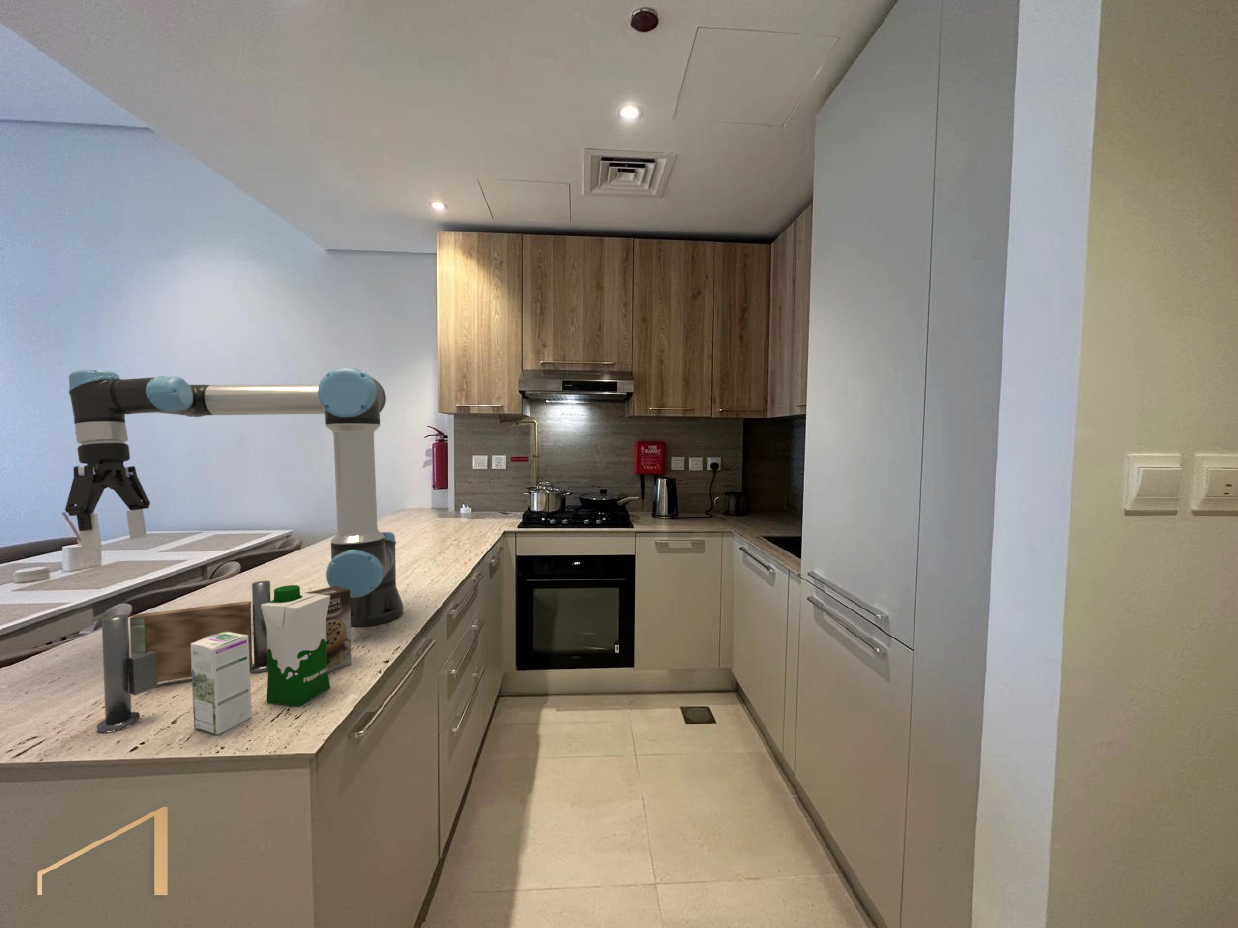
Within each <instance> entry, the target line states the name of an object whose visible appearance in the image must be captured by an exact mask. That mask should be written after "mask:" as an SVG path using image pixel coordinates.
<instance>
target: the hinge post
mask: <svg viewBox="0 0 1238 928" xmlns="http://www.w3.org/2000/svg"><path fill="white" fill-rule="evenodd" d="M251 591H252V592H251V594H252V595H251V596H252V600H251V601H252V629H253V630H252V631H253V634H252V635H253V662H252V665H251V667H250V674H261V673H266V672H268V664H267V629H266V624H265V620H264V616H263V612H262V608H261V605H262V604H266V603H267V602H270V601H271V581H270V580H260V581H259V580H258V581H254V582H253V583H251Z"/></svg>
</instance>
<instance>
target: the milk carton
mask: <svg viewBox="0 0 1238 928" xmlns="http://www.w3.org/2000/svg"><path fill="white" fill-rule="evenodd" d="M300 588H301V586H300V585H297V584H296V585H295V584H293V585H292V584H291V585H284V586H280V587H279V586H278V587H276V588H274V589H273V599H272V600H270V602H267V603H266V604H262V605H261V608H262V612H263V616H264V620H265V624H266V629H267V664H268V671H267V684H266V701H265V702H266V703H270V704H278V705H284V706H291V707H301V706H303V705H304V704H305V703H307V702H309V701H311V700H312V699H314V698H315V697H317V696H319V695H321V694H322V693H324V692H325V691H326V690H328V689H330V688H331V686H330V678H329V672H328V669H327V650H326V616H327V611H328V605H329V601H330V595H320V594H309V593H306V592H301V589H300Z"/></svg>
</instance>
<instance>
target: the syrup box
mask: <svg viewBox="0 0 1238 928" xmlns="http://www.w3.org/2000/svg"><path fill="white" fill-rule="evenodd" d="M191 668H192V677H191V682H192V683H191V687H192V688H191V689H192V708H193V728H194V729H195V730H199V731H202V732H206V733H208V734H213V735H215V736H216V735H217V736H218V735H220V734H222V733H224V732H226V731H228V730H230V729H232V728H235V727H237V726H239V725H240V724H243V723H244V722H247V721H248V720H250V719H251V718H252V716H253V715H252V694H251V692H252V691H251V689H252V688H251V673H250V665H249V641H248V636H247V635H242V634H236V633H231V632H222V633H219V634H215V635H212V636H209V637H206V638H203V639H201V640H198V641H196V642H194V643H191Z"/></svg>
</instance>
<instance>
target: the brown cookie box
mask: <svg viewBox="0 0 1238 928" xmlns="http://www.w3.org/2000/svg"><path fill="white" fill-rule="evenodd" d="M350 591H351V590H349V589H346V588H341V587H337V586H333V587H330V586H329V587H324V588H320V589H316V590H311V591H307V592H305V593H309V594H320V595H330V601H329V605H328V611H327V616H326V650H327V669H328V673H330V672H333V671H336V670H339V669H341V668H345V667H346V666H349V665H352V626H351V597H350Z"/></svg>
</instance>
